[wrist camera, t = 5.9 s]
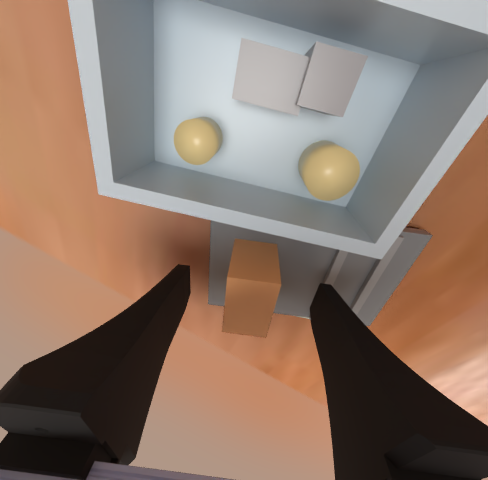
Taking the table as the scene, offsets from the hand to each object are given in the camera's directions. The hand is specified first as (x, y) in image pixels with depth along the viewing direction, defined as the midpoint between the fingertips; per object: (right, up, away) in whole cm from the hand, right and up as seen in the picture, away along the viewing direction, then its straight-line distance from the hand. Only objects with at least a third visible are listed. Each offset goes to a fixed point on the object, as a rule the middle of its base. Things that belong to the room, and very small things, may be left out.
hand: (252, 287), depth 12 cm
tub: (+1, +8, -2) cm, 8 cm away
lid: (+3, +1, +2) cm, 4 cm away
